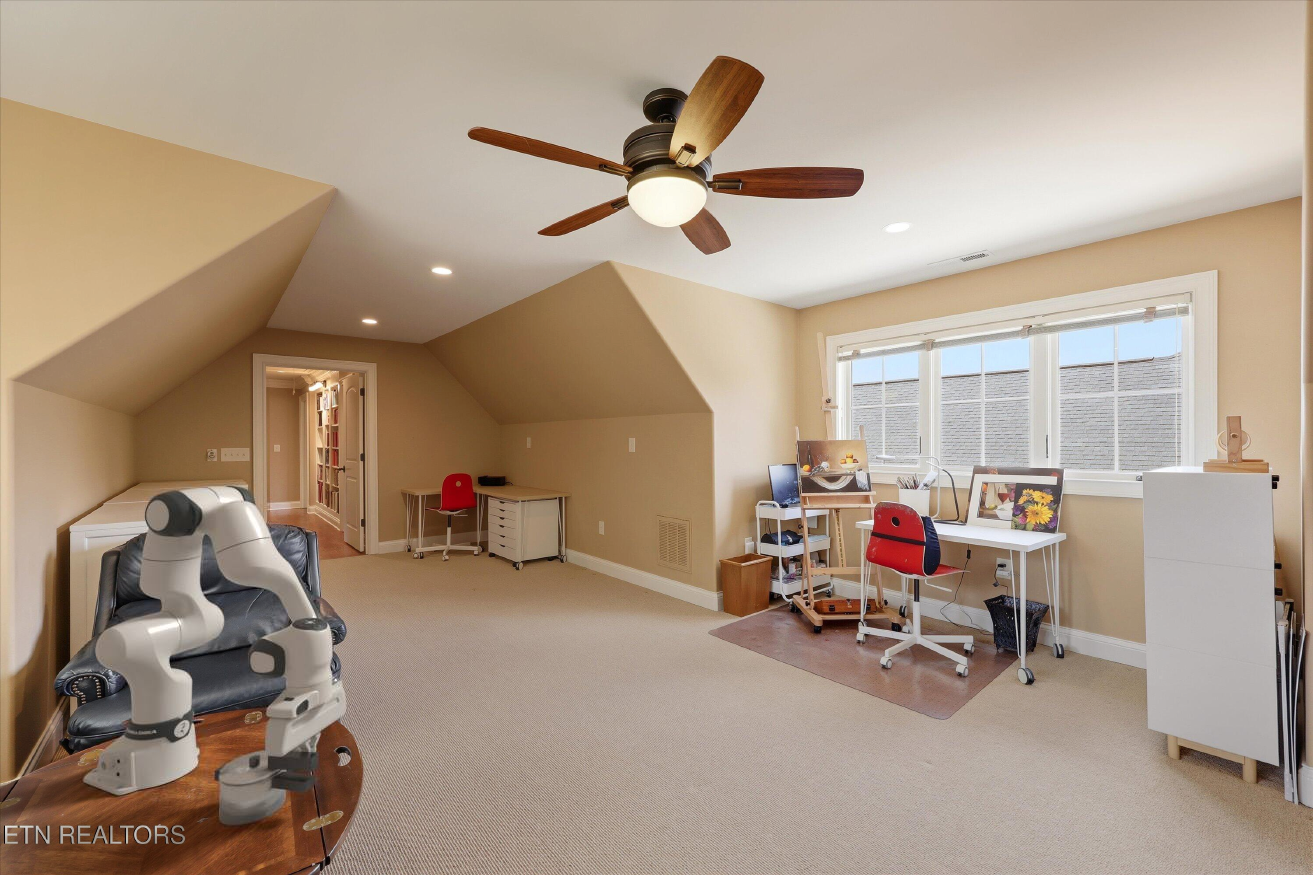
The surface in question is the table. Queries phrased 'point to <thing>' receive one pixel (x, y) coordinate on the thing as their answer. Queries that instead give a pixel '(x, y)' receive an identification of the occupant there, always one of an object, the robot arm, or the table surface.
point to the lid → (265, 766)
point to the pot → (258, 796)
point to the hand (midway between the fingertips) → (308, 754)
